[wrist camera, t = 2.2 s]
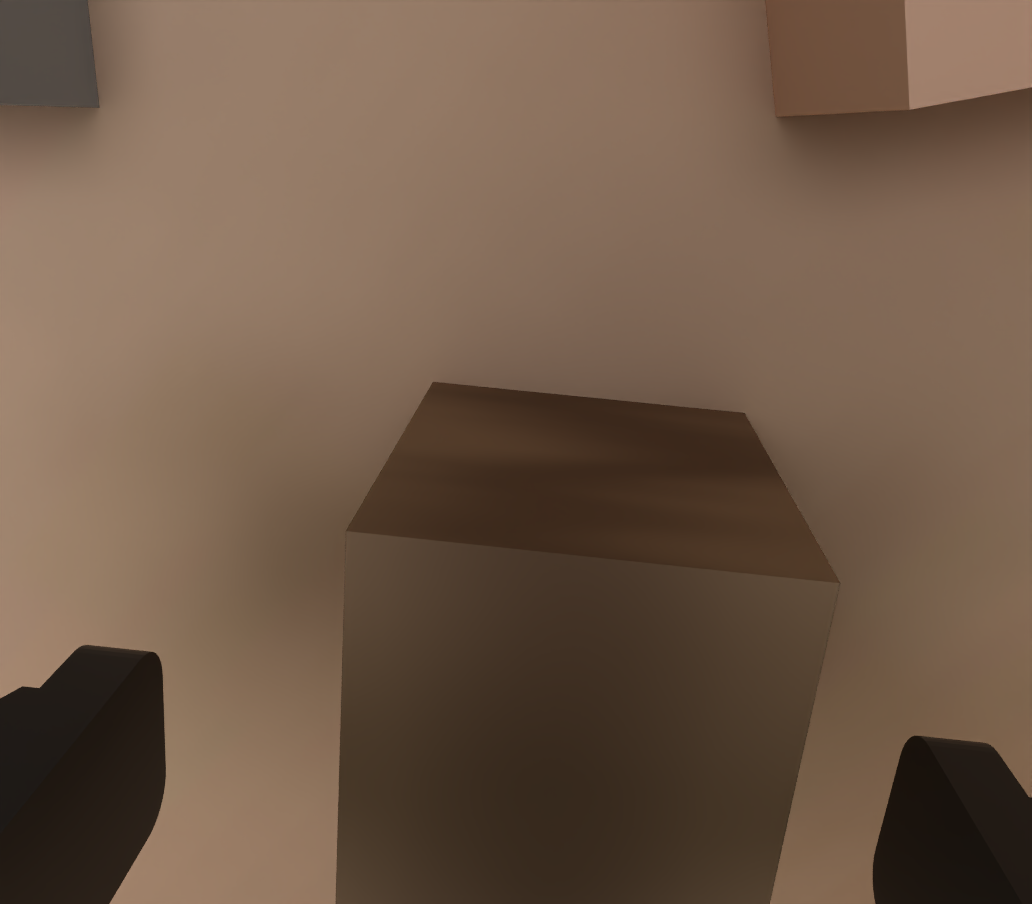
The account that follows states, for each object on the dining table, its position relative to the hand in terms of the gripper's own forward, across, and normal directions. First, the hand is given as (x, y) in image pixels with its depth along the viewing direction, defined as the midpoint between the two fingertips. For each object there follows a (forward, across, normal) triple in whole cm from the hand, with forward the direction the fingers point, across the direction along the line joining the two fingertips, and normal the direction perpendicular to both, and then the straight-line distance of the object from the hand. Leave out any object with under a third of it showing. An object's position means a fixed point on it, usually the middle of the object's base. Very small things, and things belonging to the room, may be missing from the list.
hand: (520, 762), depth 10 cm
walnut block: (+6, -1, 0) cm, 6 cm away
